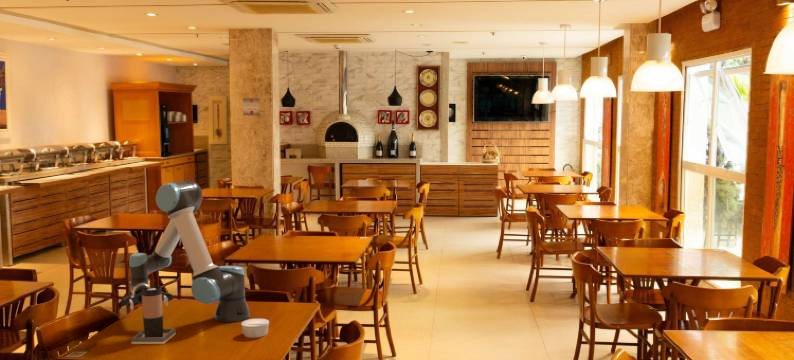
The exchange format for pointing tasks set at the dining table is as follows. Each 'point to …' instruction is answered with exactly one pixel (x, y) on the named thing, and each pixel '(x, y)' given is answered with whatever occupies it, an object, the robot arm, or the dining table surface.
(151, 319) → the travel mug
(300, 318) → the dining table surface
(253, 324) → the ramekin
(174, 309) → the dining table surface
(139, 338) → the mug dock
